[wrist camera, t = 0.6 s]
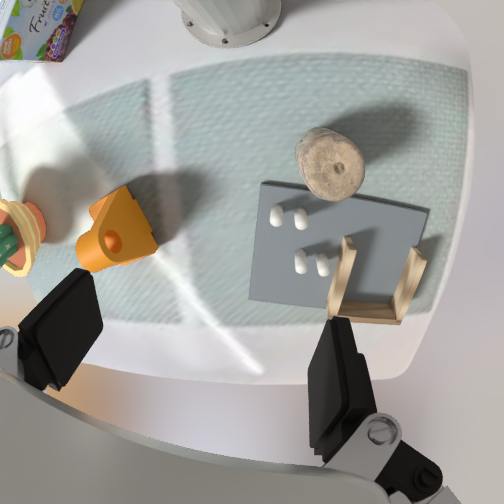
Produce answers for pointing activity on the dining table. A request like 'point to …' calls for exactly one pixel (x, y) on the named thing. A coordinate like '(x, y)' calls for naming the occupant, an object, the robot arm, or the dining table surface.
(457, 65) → the dining table surface
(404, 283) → the end holder
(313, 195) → the board
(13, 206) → the potted cactus
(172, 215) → the dining table surface
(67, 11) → the snack box
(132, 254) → the bracket
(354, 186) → the carving
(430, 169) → the dining table surface
